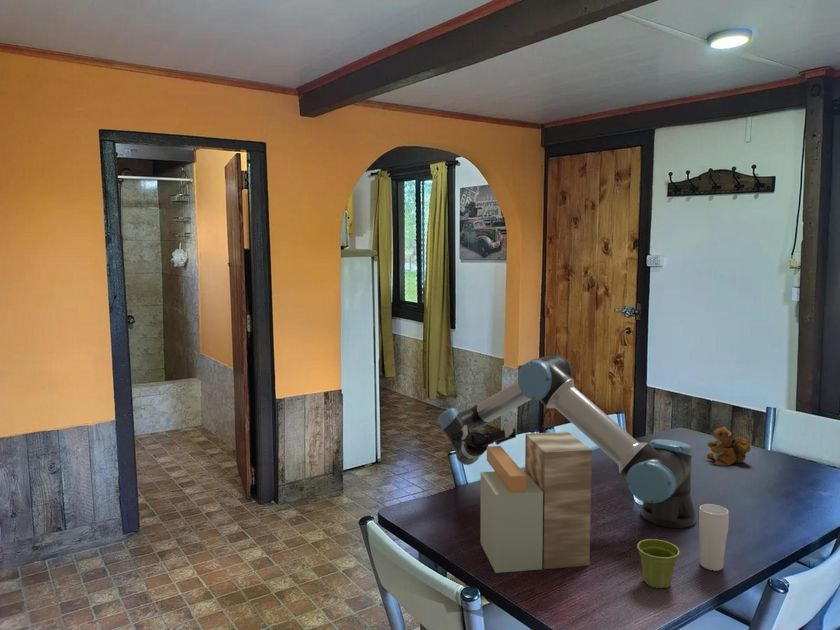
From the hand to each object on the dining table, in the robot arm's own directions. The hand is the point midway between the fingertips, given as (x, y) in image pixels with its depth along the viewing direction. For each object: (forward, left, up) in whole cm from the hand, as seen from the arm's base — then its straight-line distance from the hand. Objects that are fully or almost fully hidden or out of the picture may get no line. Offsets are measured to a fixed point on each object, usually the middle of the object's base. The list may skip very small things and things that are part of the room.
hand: (488, 428), depth 184 cm
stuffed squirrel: (-55, -91, -28) cm, 110 cm away
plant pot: (-50, +12, -28) cm, 59 cm away
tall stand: (-24, +10, -27) cm, 38 cm away
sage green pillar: (-15, +18, -27) cm, 36 cm away
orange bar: (-12, +14, -7) cm, 20 cm away
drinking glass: (-60, -3, -28) cm, 66 cm away
